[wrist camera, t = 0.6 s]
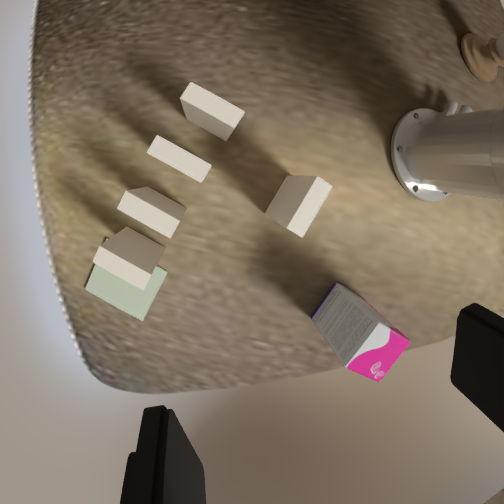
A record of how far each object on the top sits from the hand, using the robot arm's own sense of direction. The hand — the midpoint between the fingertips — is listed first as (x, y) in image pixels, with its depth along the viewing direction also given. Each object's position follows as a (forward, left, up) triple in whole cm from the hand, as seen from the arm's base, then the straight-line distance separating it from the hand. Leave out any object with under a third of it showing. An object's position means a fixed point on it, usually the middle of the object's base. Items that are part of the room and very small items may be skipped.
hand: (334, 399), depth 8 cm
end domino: (-6, +2, -28) cm, 29 cm away
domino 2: (+1, -9, -28) cm, 30 cm away
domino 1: (-4, -9, -28) cm, 30 cm away
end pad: (+11, -9, -28) cm, 32 cm away
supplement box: (+2, +16, -28) cm, 33 cm away
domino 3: (+6, -9, -28) cm, 30 cm away
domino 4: (-9, -9, -28) cm, 31 cm away
